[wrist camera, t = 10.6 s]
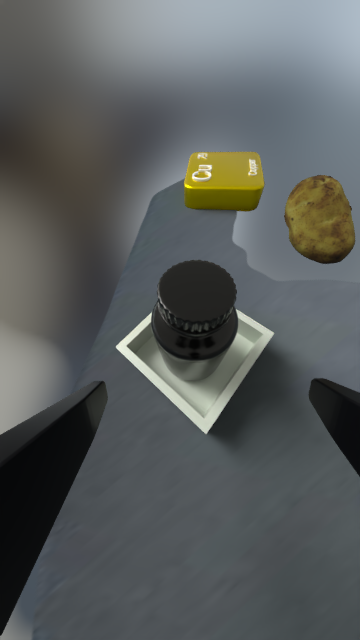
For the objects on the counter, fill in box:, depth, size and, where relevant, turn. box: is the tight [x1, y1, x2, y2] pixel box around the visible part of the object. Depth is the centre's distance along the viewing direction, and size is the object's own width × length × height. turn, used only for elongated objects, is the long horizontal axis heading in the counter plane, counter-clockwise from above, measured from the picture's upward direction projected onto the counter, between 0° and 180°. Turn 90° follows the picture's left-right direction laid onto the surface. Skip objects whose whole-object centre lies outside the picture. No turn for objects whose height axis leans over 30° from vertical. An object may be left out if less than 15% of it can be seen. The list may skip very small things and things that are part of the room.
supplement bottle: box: [151, 260, 238, 381], centre depth 16 cm, size 7×7×12 cm
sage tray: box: [116, 310, 274, 434], centre depth 20 cm, size 12×12×4 cm
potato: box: [284, 175, 355, 264], centre depth 27 cm, size 8×13×8 cm, turn 175°
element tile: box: [184, 152, 264, 212], centre depth 37 cm, size 15×15×5 cm
